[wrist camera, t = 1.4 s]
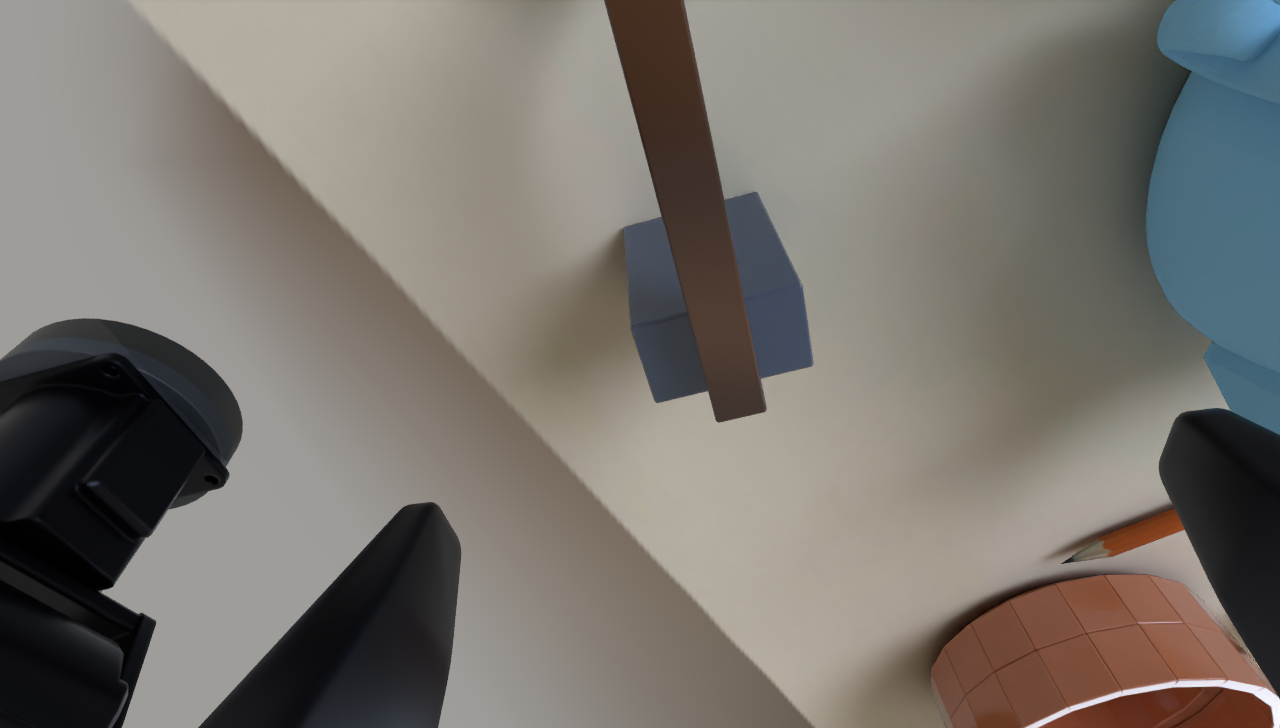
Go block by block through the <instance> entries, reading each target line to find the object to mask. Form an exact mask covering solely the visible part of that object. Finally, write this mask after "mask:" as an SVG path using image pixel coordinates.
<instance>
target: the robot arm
mask: <svg viewBox="0 0 1280 728" xmlns="http://www.w3.org/2000/svg"><path fill="white" fill-rule="evenodd" d="M111 366H113V367H114V368H116V369H117V370H116V369H114V368H112V367H111ZM1159 473H1160V477H1161V480H1162V483H1163V485H1164V487H1165V489H1166V491H1167V493H1168V495H1169V498H1170V500H1171V502H1172V504H1173V506H1174V508H1175V510H1176V512H1177V514H1178V516H1179V519H1180V521H1181V523H1182V525H1183V527H1184V529H1185V531H1186V533H1187V535H1188V537H1189V540H1190V542H1191V544H1192V546H1193V548H1194V550H1195V552H1196V554H1197V556H1198V558H1199V561H1200V563H1201V565H1202V567H1203V569H1204V571H1205V573H1206V575H1207V577H1208V579H1209V582H1210V583H1211V585H1212V587H1213V589H1214V591H1215V593H1216V595H1217V597H1218V599H1219V601H1220V603H1221V604H1222V606H1223V608H1224V610H1225V611H1226V613H1227V615H1228V616H1229V618H1230V620H1231V621H1232V623H1233V625H1234V626H1235V628H1236V630H1237V631H1238V633H1239V634H1240V636H1241V638H1242V639H1243V641H1244V642H1245V644H1246V646H1247V647H1248V649H1249V650H1250V652H1251V654H1252V655H1253V657H1254V659H1255V660H1256V662H1257V663H1258V665H1259V667H1260V668H1261V670H1262V671H1263V673H1264V675H1265V676H1266V678H1267V679H1268V681H1269V683H1270V684H1271V686H1272V688H1273V689H1274V691H1275V692H1276V694H1277V696H1278V697H1279V699H1280V435H1279V434H1277V433H1275V432H1273V431H1271V430H1269V429H1267V428H1265V427H1262V426H1260V425H1258V424H1256V423H1254V422H1252V421H1250V420H1248V419H1246V418H1244V417H1242V416H1240V415H1238V414H1236V413H1234V412H1231V411H1229V410H1226V409H1220V408H1213V409H1205V410H1196V411H1188V412H1184V413H1181V414H1180V415H1179V416H1178V417H1177V418H1176V419H1175V421H1174V423H1173V426H1172V428H1171V431H1170V434H1169V436H1168V439H1167V442H1166V444H1165V447H1164V449H1163V452H1162V455H1161V457H1160V461H1159ZM228 478H229V472H228V470H227V469H226V468H225V467H224V465H223V464H222V463H221V462H220V461H219V460H218V459H217V458H216V457H215V455H214V454H213V453H212V452H211V451H210V450H209V449H208V448H207V447H206V445H205V444H204V443H203V442H202V441H201V440H200V439H199V438H198V436H197V435H196V434H195V433H194V432H193V431H192V430H191V429H190V428H189V426H188V425H187V424H186V423H185V422H184V421H183V420H182V419H181V418H180V416H179V415H178V414H177V413H176V412H175V411H174V410H173V409H172V407H171V406H170V405H169V404H168V403H167V402H166V401H165V400H164V399H163V397H162V396H161V395H160V394H159V393H158V392H157V391H156V390H155V389H154V387H153V386H152V385H151V384H150V383H149V382H148V381H147V380H146V378H145V377H144V376H143V375H142V374H141V373H140V372H139V371H138V370H137V368H136V367H135V366H134V365H133V364H132V363H131V362H130V361H129V360H128V359H127V358H126V357H124V356H122V355H120V354H118V353H113V352H110V353H104V354H100V355H96V356H93V357H89V358H85V359H82V360H78V361H74V362H71V363H67V364H63V365H60V366H56V367H52V368H49V369H45V370H41V371H37V372H34V373H30V374H26V375H23V376H19V377H15V378H12V379H8V380H4V381H1V382H0V728H121V727H122V725H123V723H124V720H125V717H126V713H127V710H128V707H129V704H130V701H131V698H132V695H133V692H134V689H135V686H136V683H137V680H138V677H139V673H140V671H141V668H142V665H143V662H144V659H145V656H146V653H147V650H148V647H149V644H150V640H151V637H152V634H153V631H154V628H155V625H156V621H155V620H154V619H152V618H150V617H148V616H147V615H145V614H143V613H140V614H137V613H135V612H133V611H132V610H130V609H128V608H127V607H125V606H123V605H121V604H120V603H118V602H116V601H114V600H112V599H111V598H109V597H108V596H106V595H104V594H102V593H101V592H102V590H105V589H109V588H111V587H113V586H114V584H115V583H116V581H117V580H118V578H119V577H120V575H121V574H122V572H123V571H124V569H125V568H126V566H127V565H128V563H129V562H130V560H131V559H132V557H133V556H134V554H135V553H136V552H137V550H138V549H139V547H140V545H141V544H142V543H143V541H144V540H145V538H147V537H149V536H150V535H151V534H152V533H153V532H154V530H155V529H156V527H157V526H158V524H159V523H160V521H161V520H162V518H163V517H164V515H165V514H166V512H167V510H168V509H169V508H170V506H171V505H172V503H173V502H174V500H175V499H177V498H182V497H186V496H190V495H194V494H198V493H202V492H207V491H211V490H215V489H219V488H221V487H223V486H224V484H225V483H226V481H227V480H228ZM460 563H461V546H460V542H459V539H458V537H457V535H456V533H455V532H454V530H453V528H452V527H451V525H450V524H449V522H448V520H447V519H446V517H445V515H444V513H443V512H442V510H441V509H440V507H439V506H438V505H437V504H435V503H433V502H427V503H419V504H411V505H407V506H405V507H403V508H402V509H401V510H400V511H399V512H398V513H397V514H396V515H395V516H394V517H393V518H392V519H391V520H390V521H389V522H388V524H387V525H386V526H385V527H384V528H383V529H382V530H381V531H380V532H379V533H378V534H377V535H376V537H375V538H374V539H373V540H372V541H371V542H370V543H369V544H368V545H367V546H366V547H365V548H364V549H363V551H362V552H361V553H360V554H359V555H358V556H357V557H356V558H355V559H354V560H353V561H352V563H350V565H349V566H348V567H347V568H346V569H345V570H344V571H343V572H342V573H341V574H340V575H339V577H337V579H336V580H335V581H334V582H333V583H332V584H331V585H330V586H329V587H328V588H327V589H326V591H325V592H324V593H323V594H322V595H321V596H320V597H319V598H318V599H317V600H316V601H315V603H313V605H312V606H311V607H310V608H309V609H308V610H307V611H306V612H305V613H304V614H303V615H302V616H301V617H300V619H299V620H298V621H297V622H296V623H295V624H294V625H293V626H292V627H291V628H290V629H289V630H288V632H287V633H286V634H285V635H284V636H283V637H282V638H281V639H280V640H279V641H278V642H277V644H275V645H274V647H273V648H272V649H271V650H270V651H269V652H268V653H267V654H266V655H265V656H264V657H263V659H262V660H261V661H260V662H259V663H258V664H257V665H256V666H255V667H254V668H253V669H252V670H251V671H250V672H249V674H248V675H247V676H246V677H245V678H244V679H243V680H242V681H241V682H240V683H239V684H238V685H237V687H236V688H235V689H234V690H233V691H232V692H231V693H230V694H229V695H228V696H227V697H226V699H225V700H224V701H223V702H222V703H221V704H220V705H219V706H218V707H217V708H216V709H215V710H214V711H213V712H212V714H211V715H210V716H209V717H208V718H207V719H206V720H205V721H204V722H203V723H202V724H201V726H199V728H438V725H439V720H440V715H441V710H442V705H443V700H444V696H445V690H446V686H447V680H448V675H449V669H450V663H451V655H452V646H453V637H454V626H455V616H456V605H457V594H458V584H459V573H460Z"/></svg>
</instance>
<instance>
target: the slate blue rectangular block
mask: <svg viewBox="0 0 1280 728" xmlns="http://www.w3.org/2000/svg"><path fill="white" fill-rule="evenodd" d="M724 201H725V206H726V211H727V216H728V221H729V226H730V231H731V236H732V240H733V245H734V250H735V255H736V260H737V265H738V270H739V275H740V280H741V285H742V290H743V295H744V300H745V304H746V309H747V314H748V319H749V324H750V329H751V334H752V339H753V344H754V349H755V354H756V359H757V364H758V368H759V373H760V378H765V377H770V376H774V375H778V374H782V373H787V372H791V371H795V370H799V369H803V368H808V367H811V366H813V356H812V349H811V342H810V335H809V328H808V321H807V314H806V307H805V299H804V292H803V285H802V283H801V281H800V279H799V277H798V275H797V273H796V271H795V269H794V267H793V265H792V263H791V261H790V259H789V256H788V254H787V252H786V250H785V248H784V246H783V244H782V242H781V240H780V238H779V236H778V234H777V232H776V230H775V228H774V225H773V223H772V221H771V219H770V217H769V215H768V213H767V211H766V209H765V207H764V205H763V203H762V201H761V199H760V196H759V194H758V193H757V192H753V193H750V194H746V195H742V196H739V197H735V198H731V199H727V200H724ZM624 243H625V258H626V272H627V286H628V301H629V315H630V329H631V332H632V335H633V338H634V341H635V344H636V347H637V350H638V353H639V356H640V359H641V362H642V365H643V368H644V371H645V374H646V377H647V380H648V383H649V386H650V389H651V392H652V395H653V398H654V401H655V402H656V403H660V402H664V401H668V400H672V399H677V398H681V397H685V396H689V395H694V394H698V393H702V392H706V391H708V389H707V385H706V381H705V377H704V374H703V370H702V366H701V362H700V359H699V355H698V351H697V347H696V344H695V340H694V336H693V332H692V329H691V325H690V321H689V317H688V313H687V310H686V306H685V302H684V298H683V295H682V291H681V287H680V283H679V280H678V276H677V272H676V268H675V265H674V261H673V257H672V253H671V250H670V246H669V242H668V238H667V235H666V231H665V227H664V223H663V219H662V217H660V218H657V219H653V220H649V221H645V222H642V223H638V224H634V225H631V226H627V227H625V228H624Z"/></svg>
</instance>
